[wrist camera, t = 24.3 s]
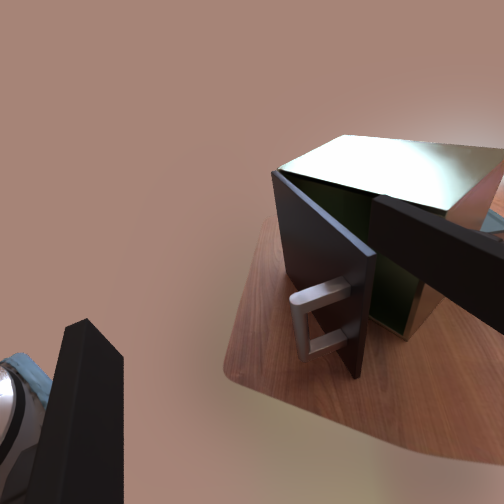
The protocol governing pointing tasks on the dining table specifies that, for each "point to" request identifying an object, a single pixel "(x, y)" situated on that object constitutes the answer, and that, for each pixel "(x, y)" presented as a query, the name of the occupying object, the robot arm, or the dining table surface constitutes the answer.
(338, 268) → the compartment door
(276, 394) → the dining table surface
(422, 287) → the storage compartment
